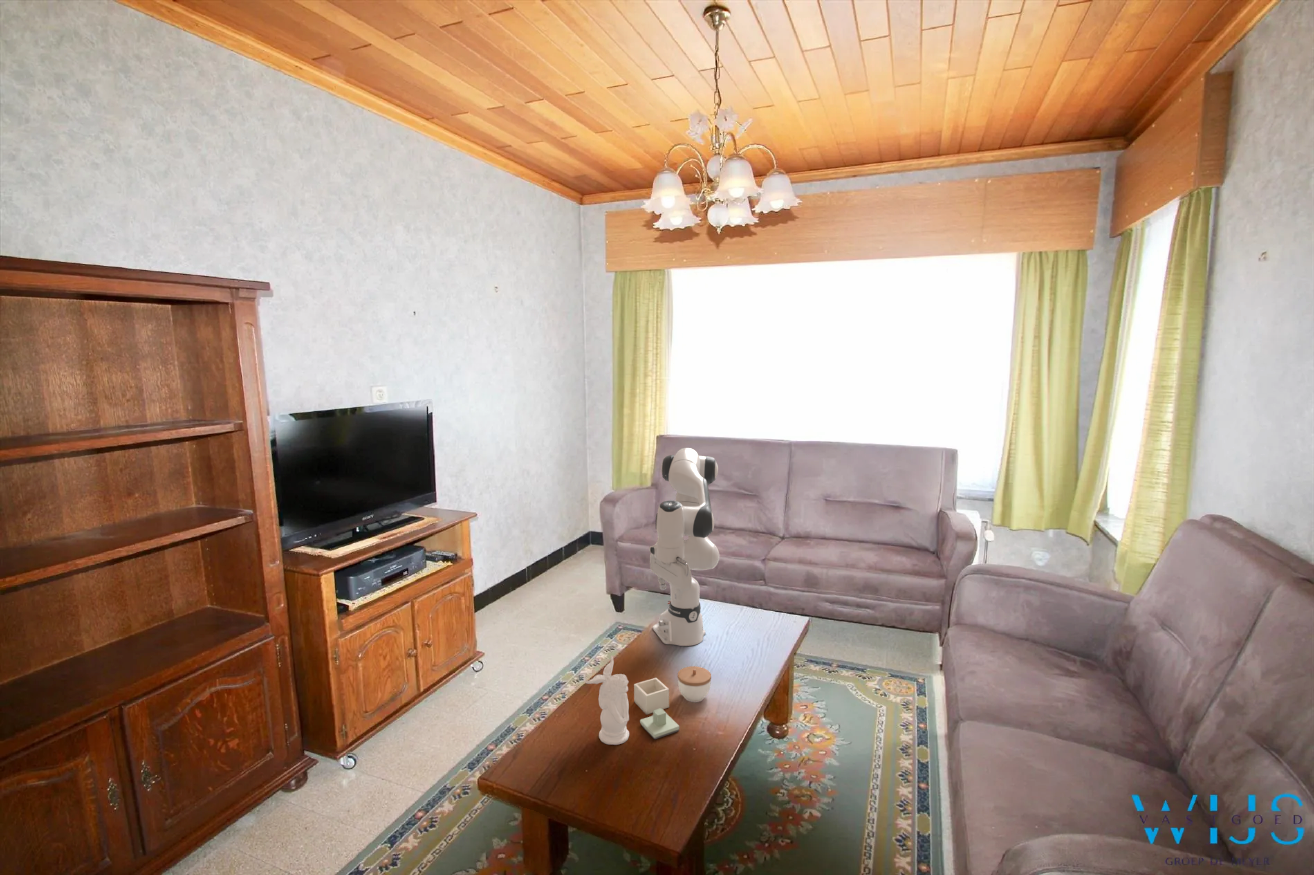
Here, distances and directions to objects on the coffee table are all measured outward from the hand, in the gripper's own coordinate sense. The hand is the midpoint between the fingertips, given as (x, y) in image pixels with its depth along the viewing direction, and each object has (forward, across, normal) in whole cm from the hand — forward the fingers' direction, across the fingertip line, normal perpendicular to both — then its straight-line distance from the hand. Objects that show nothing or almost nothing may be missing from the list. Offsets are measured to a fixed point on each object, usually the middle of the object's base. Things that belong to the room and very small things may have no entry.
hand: (670, 594), depth 195 cm
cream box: (+33, -4, +10) cm, 34 cm away
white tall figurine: (+32, -12, +29) cm, 45 cm away
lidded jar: (+33, -7, -4) cm, 34 cm away
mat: (+32, -16, +14) cm, 39 cm away
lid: (+32, -16, +14) cm, 38 cm away
